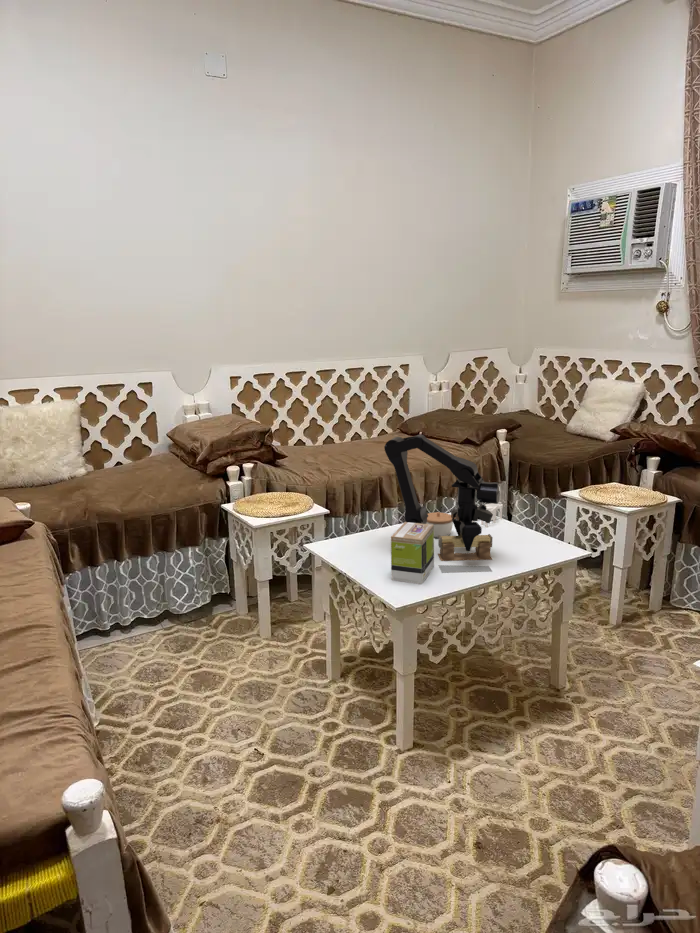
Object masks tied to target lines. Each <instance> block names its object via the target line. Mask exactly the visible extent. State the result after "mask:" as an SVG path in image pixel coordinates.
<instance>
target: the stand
mask: <svg viewBox="0 0 700 933" xmlns="http://www.w3.org/2000/svg"><path fill="white" fill-rule="evenodd" d="M474 548H475V550H474V551H475V552H455V548H454V543H452V544H443V548H442V549H440V548H439V553H437V556H438V557H439V560H440V562H452V561H453V562H455V561H457V562H458V561H459V562H460V561H462V562H463V561H491V560H493V558H492V556H491V548H492V547H491V543H479V547H474Z"/></svg>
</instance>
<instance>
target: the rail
mask: <svg viewBox="0 0 700 933" xmlns="http://www.w3.org/2000/svg"><path fill="white" fill-rule="evenodd" d="M437 539H438V543H437V544H438V547H439V550H440V549H442V548H443V544H452V543H454V549H456V548H465V546H464V543H463V540H462V537H461V536H458V535H448V536H440V535H439V538H437ZM479 543H491V548H493V536H492V535H491V534H490V533H488V534H479V535H477V536H476V537H475V538H474V540H473V543H472V546H471V548H475V547H479Z"/></svg>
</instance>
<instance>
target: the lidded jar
mask: <svg viewBox="0 0 700 933" xmlns="http://www.w3.org/2000/svg"><path fill="white" fill-rule="evenodd" d="M427 514H428V517H427V523H426V524H433V525H434V539H438V538H439V535H440V536H450V534H451V532H452V529H453V526H454V524H453V521H452V518H451V513H450V514H449V513H446V512H440V511H437V512H435V511H434V512H429V513H428V512H427Z"/></svg>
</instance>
